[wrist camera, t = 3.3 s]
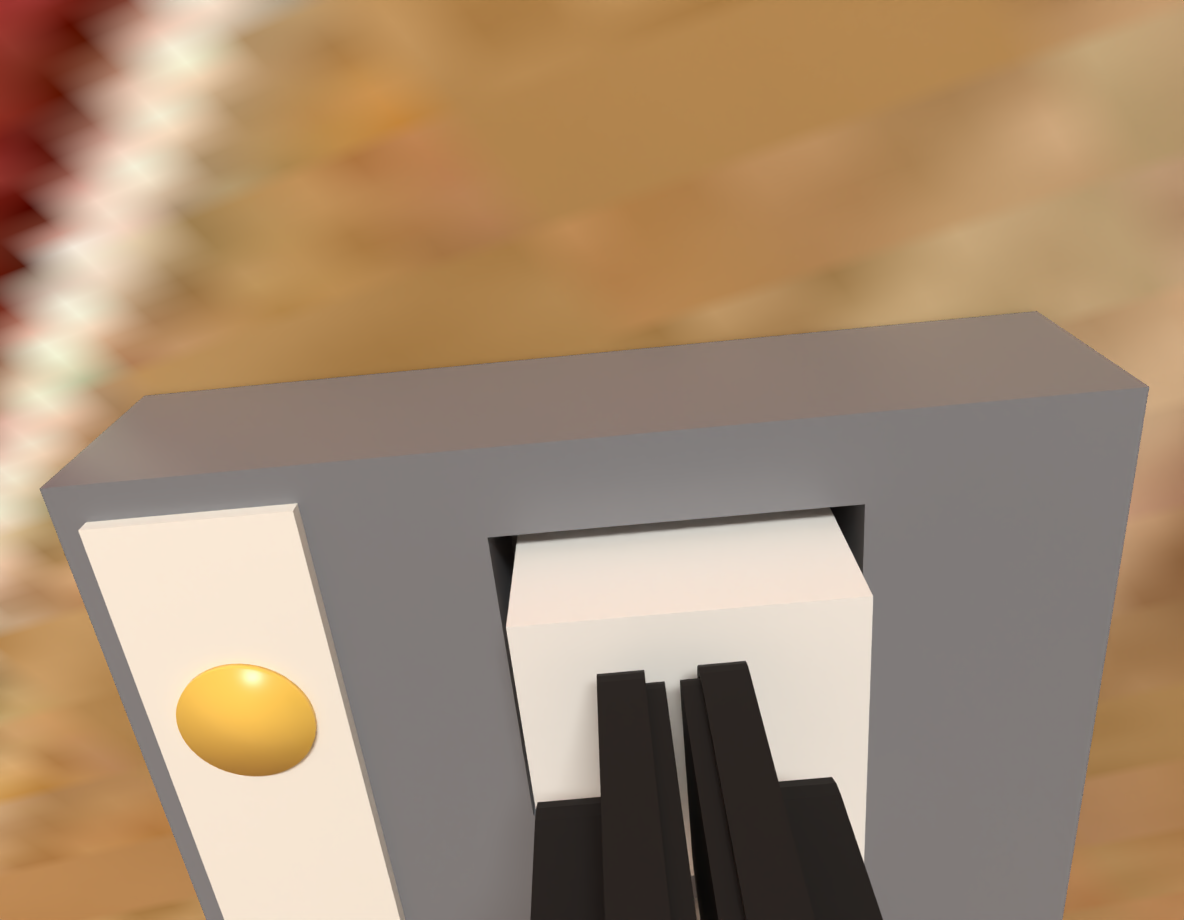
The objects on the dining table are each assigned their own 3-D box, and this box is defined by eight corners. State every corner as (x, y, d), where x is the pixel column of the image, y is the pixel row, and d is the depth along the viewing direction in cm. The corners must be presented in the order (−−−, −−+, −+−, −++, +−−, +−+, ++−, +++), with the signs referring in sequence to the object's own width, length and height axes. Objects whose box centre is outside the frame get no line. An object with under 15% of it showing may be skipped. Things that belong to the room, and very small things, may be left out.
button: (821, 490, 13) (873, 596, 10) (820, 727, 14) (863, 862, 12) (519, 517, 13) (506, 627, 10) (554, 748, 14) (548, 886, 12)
